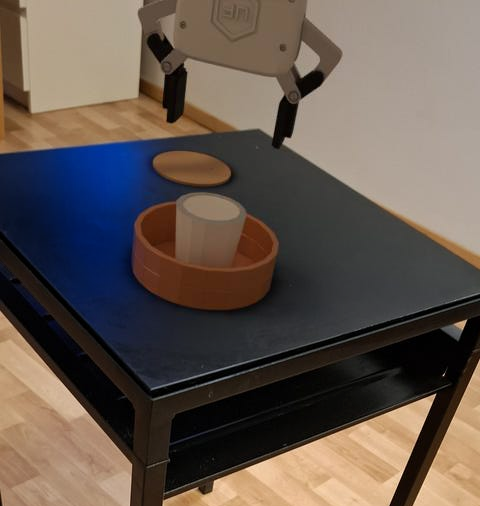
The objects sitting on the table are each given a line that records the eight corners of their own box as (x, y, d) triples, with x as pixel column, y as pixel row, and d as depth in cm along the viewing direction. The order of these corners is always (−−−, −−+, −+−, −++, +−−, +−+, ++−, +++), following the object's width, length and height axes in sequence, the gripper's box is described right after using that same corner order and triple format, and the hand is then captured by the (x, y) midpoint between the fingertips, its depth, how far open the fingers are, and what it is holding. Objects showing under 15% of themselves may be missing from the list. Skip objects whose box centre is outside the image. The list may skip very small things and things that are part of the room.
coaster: (136, 163, 94) (136, 158, 93) (192, 150, 100) (193, 145, 100) (190, 194, 89) (191, 190, 89) (246, 179, 96) (246, 174, 95)
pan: (102, 260, 74) (104, 219, 71) (202, 228, 83) (207, 190, 80) (201, 328, 68) (207, 286, 65) (297, 285, 77) (306, 247, 74)
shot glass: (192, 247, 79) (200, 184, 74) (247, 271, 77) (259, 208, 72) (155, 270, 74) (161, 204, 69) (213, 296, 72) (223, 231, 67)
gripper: (130, -120, 53) (119, 121, 64) (366, -69, 52) (313, 168, 63) (162, -125, 59) (147, 98, 70) (375, -80, 57) (325, 140, 68)
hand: (226, 131), depth 66 cm, fingers open, 9 cm apart
